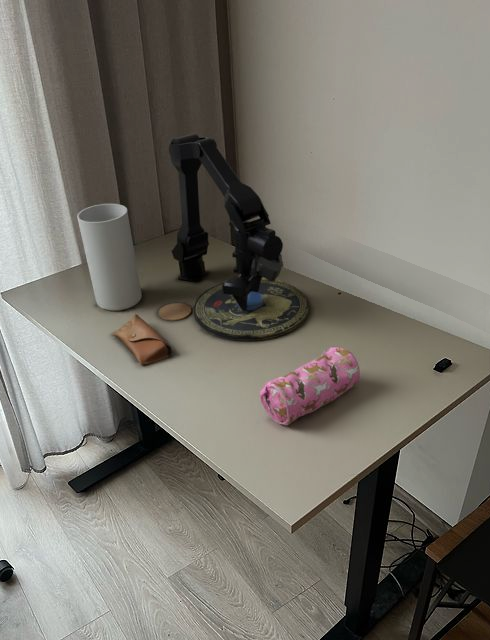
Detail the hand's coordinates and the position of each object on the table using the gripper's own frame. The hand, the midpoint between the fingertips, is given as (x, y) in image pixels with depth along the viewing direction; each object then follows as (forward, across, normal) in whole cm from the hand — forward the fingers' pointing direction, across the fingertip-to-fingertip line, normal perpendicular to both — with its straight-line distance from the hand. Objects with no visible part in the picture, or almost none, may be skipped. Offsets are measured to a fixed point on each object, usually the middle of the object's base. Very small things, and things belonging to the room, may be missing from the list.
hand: (249, 303), depth 154 cm
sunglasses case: (+3, -23, +19) cm, 30 cm away
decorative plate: (+3, +1, 0) cm, 3 cm away
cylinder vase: (+3, -5, +37) cm, 37 cm away
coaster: (+3, -6, +19) cm, 20 cm away
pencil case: (+3, -30, -26) cm, 40 cm away
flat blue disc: (+1, 0, 0) cm, 1 cm away
